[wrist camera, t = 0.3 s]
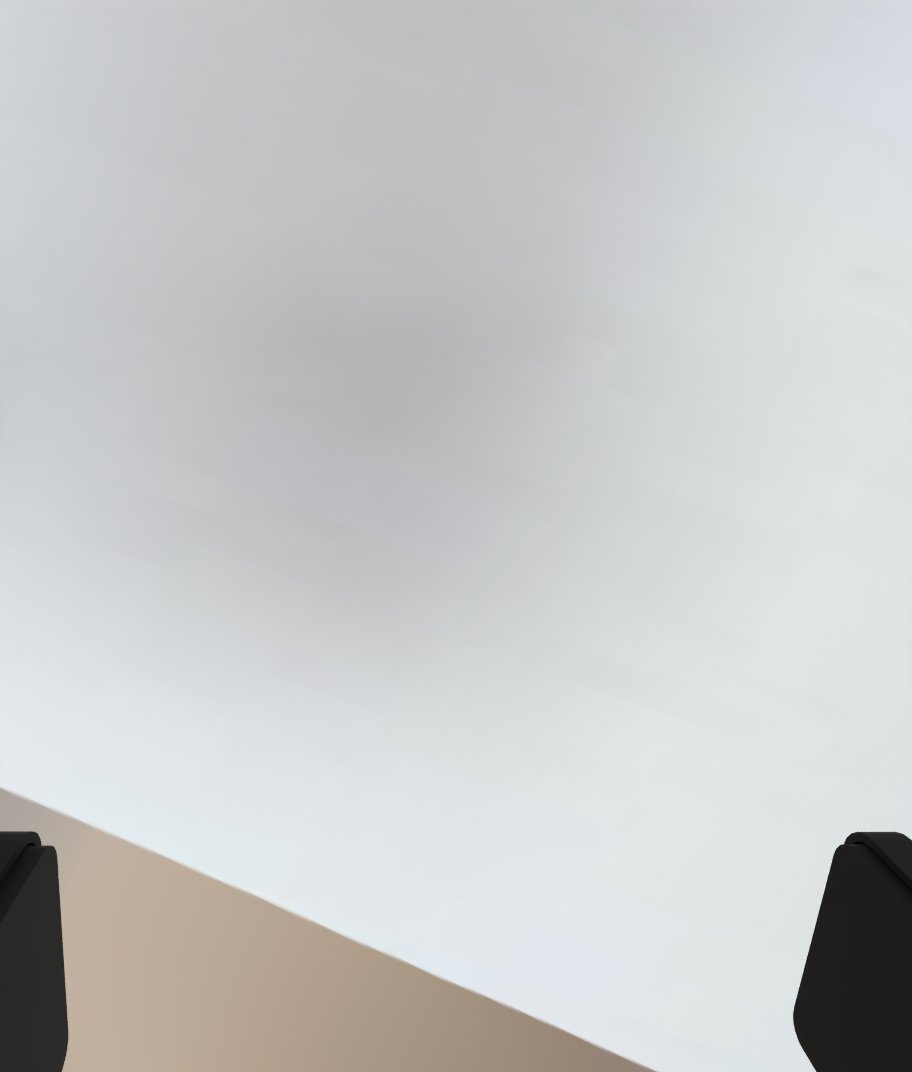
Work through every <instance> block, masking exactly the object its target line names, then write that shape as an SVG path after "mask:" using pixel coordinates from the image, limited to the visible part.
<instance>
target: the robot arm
mask: <svg viewBox="0 0 912 1072" xmlns="http://www.w3.org/2000/svg"><path fill="white" fill-rule="evenodd" d="M61 927H62V926H61V911H60V895H59V879H58V863H57V853H56V850H55V848H54V847H53V846H41V840H40V837H39V835H38V834H37V833H35V832H0V1072H61V1071H62V1069H63V1065H64V1061H65V1057H66V1051H67V1045H68V1021H67V1005H66V990H65V975H64V958H63V943H62V928H61ZM793 1020H794V1027H795V1032H796V1035H797V1038H798V1041H799V1043H800V1045H801V1047H802V1048H803V1050H804V1052H805V1053H806V1055H807V1057H808V1058H809V1060H810V1062H811V1063H812V1065H813V1067H814V1068H815V1070H816V1072H912V840H911V839H909V838H908V837H907V836H905V835H904V834H901V833H897V832H856V833H852V834H850V835H849V836H848V837H847V838H846V841H845V843H844V845H840V846H839V847H838V848H837V849H836V851H835V853H834V856H833V860H832V864H831V868H830V872H829V875H828V879H827V883H826V887H825V891H824V895H823V899H822V902H821V906H820V910H819V914H818V918H817V922H816V925H815V929H814V933H813V937H812V941H811V945H810V949H809V952H808V956H807V960H806V964H805V968H804V972H803V976H802V979H801V983H800V987H799V991H798V995H797V999H796V1003H795V1006H794V1012H793Z"/></svg>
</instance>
